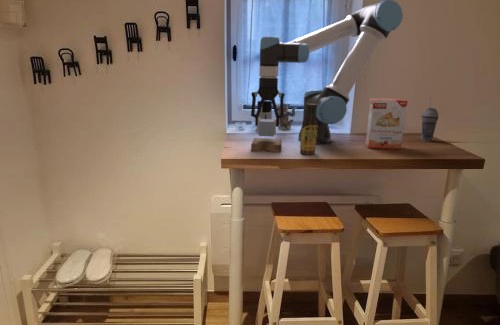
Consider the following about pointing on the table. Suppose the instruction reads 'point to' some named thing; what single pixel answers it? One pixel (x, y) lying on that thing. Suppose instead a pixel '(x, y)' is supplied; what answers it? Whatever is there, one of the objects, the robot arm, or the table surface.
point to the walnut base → (266, 145)
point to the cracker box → (386, 123)
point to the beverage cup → (428, 123)
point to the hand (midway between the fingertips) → (266, 133)
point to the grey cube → (266, 127)
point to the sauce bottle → (309, 131)
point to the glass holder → (265, 111)
